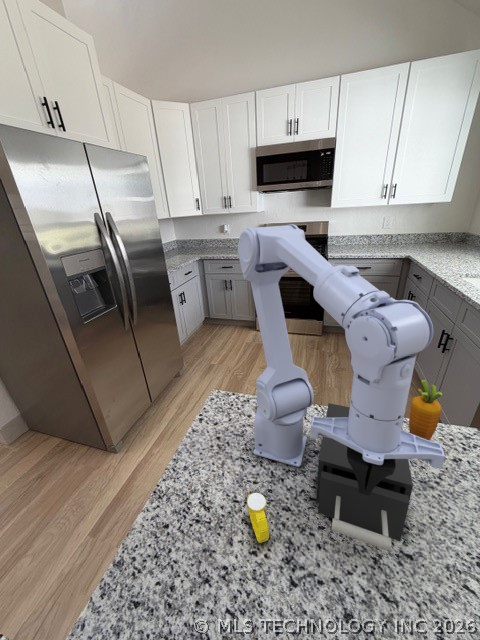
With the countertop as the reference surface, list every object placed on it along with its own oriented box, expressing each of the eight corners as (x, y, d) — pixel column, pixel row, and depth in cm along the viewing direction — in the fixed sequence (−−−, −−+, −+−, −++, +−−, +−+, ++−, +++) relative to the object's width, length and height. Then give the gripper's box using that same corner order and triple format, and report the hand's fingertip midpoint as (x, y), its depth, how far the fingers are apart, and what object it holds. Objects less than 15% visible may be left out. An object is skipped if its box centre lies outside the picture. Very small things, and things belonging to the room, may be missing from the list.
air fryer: (402, 532, 41) (413, 485, 37) (315, 503, 46) (318, 459, 42) (392, 456, 53) (400, 416, 50) (325, 440, 58) (328, 402, 55)
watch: (274, 546, 40) (273, 519, 38) (256, 553, 39) (254, 525, 37) (259, 507, 45) (258, 481, 43) (243, 513, 45) (242, 487, 42)
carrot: (436, 458, 52) (453, 393, 47) (407, 455, 53) (421, 390, 48) (425, 439, 57) (440, 377, 52) (399, 436, 58) (411, 375, 53)
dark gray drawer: (405, 582, 35) (416, 542, 32) (313, 546, 39) (315, 508, 36) (391, 465, 50) (397, 432, 48) (327, 449, 55) (329, 417, 52)
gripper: (308, 412, 31) (304, 496, 36) (464, 445, 26) (435, 539, 31) (316, 379, 37) (312, 455, 42) (444, 401, 32) (422, 485, 37)
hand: (364, 487), depth 37 cm, fingers closed
